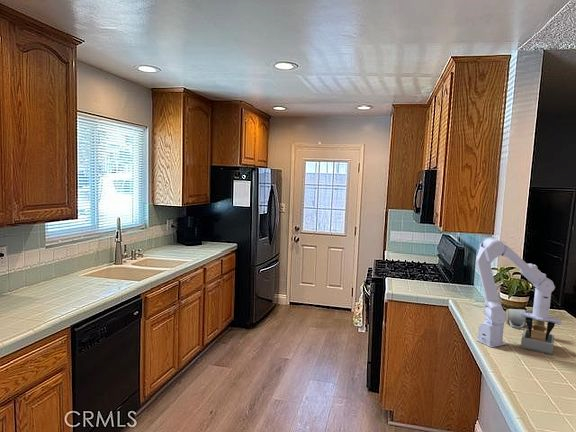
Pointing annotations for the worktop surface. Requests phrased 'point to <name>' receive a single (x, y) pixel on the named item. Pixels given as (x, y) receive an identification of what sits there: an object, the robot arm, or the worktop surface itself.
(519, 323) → the ceramic mug
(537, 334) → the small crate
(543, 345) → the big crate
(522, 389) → the worktop surface
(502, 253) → the robot arm
